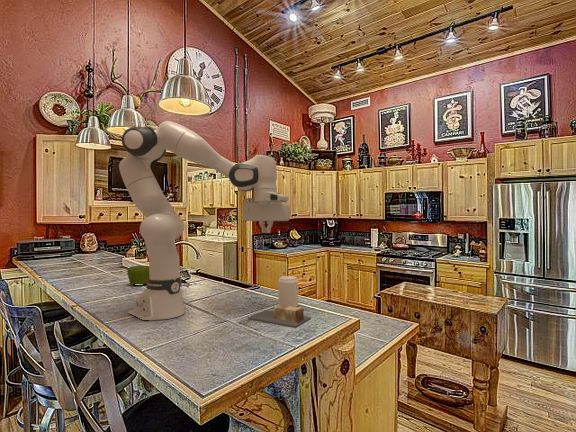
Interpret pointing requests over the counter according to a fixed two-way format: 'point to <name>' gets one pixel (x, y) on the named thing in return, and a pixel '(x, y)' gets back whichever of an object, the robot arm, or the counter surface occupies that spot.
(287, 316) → the maple block
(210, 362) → the counter surface
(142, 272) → the green pot
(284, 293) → the beverage can
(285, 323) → the rubber mat
